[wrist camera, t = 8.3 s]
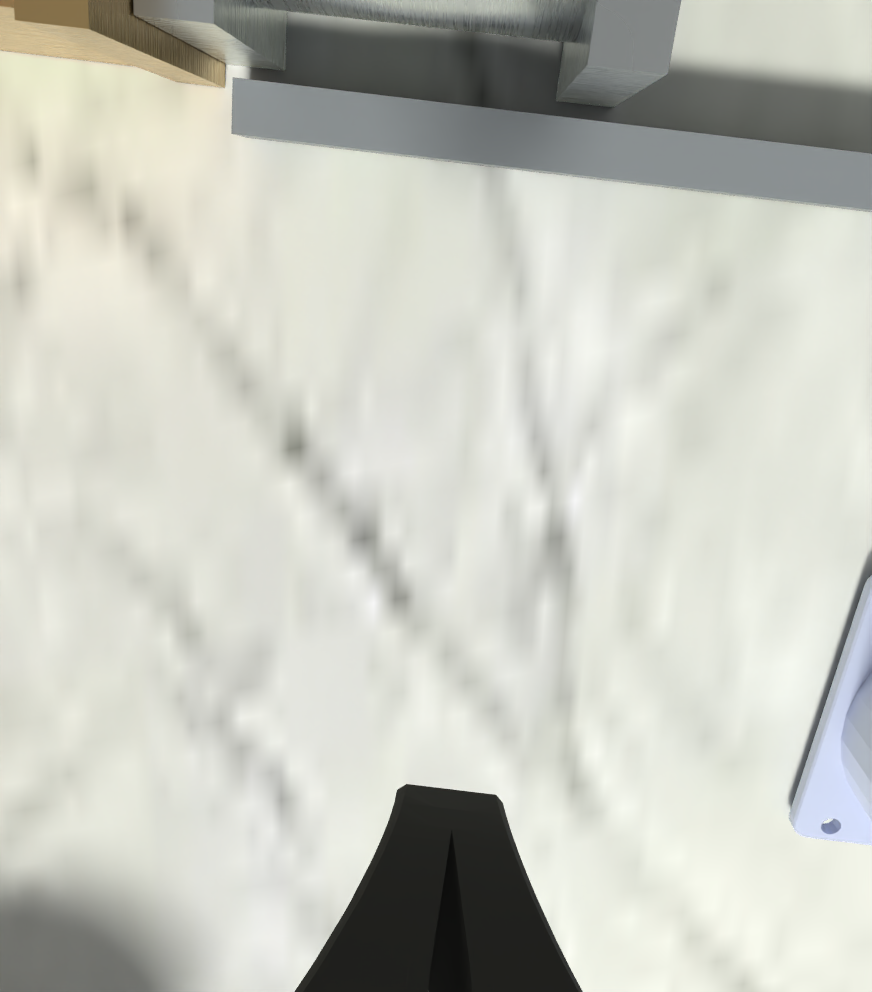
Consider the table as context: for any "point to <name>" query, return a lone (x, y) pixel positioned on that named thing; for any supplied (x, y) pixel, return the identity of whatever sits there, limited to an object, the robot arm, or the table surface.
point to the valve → (103, 38)
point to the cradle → (552, 144)
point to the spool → (458, 6)
